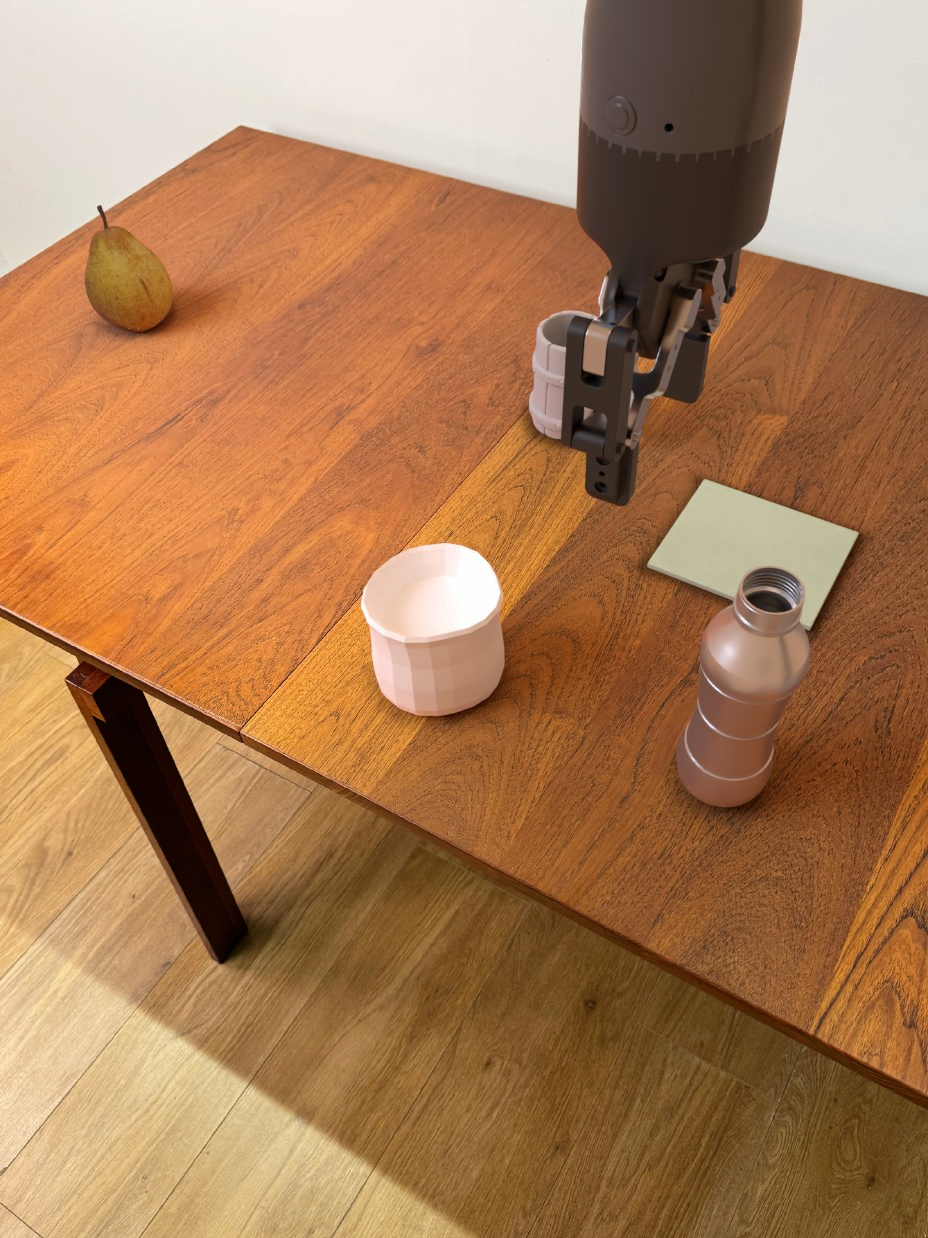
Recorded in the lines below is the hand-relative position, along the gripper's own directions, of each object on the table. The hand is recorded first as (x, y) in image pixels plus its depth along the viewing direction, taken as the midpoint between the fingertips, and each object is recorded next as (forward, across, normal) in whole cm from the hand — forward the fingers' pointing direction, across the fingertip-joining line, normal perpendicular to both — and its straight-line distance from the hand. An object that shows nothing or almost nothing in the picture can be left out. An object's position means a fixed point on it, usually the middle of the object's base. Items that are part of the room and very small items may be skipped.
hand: (645, 444), depth 49 cm
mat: (+30, +25, -2) cm, 39 cm away
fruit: (+29, +28, +70) cm, 81 cm away
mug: (+30, +34, +18) cm, 48 cm away
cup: (+30, +2, +15) cm, 33 cm away
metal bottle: (+30, +3, -7) cm, 31 cm away
